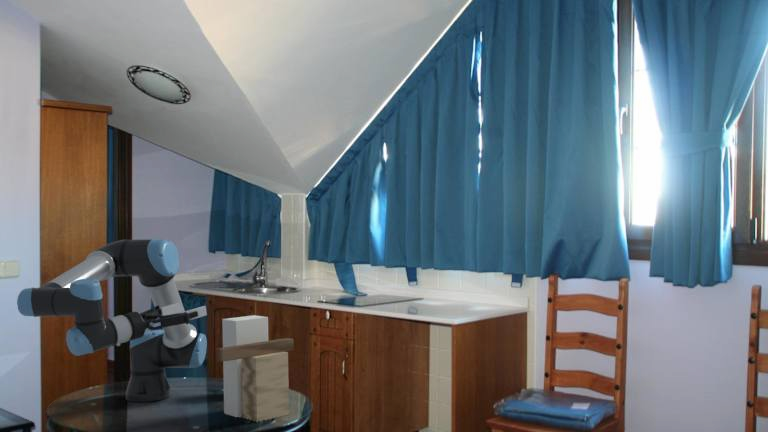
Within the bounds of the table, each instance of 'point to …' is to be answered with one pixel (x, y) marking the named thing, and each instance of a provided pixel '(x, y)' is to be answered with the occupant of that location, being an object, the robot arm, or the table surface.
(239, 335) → the white block
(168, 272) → the robot arm
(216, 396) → the table surface
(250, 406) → the oak block
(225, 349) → the walnut bar
